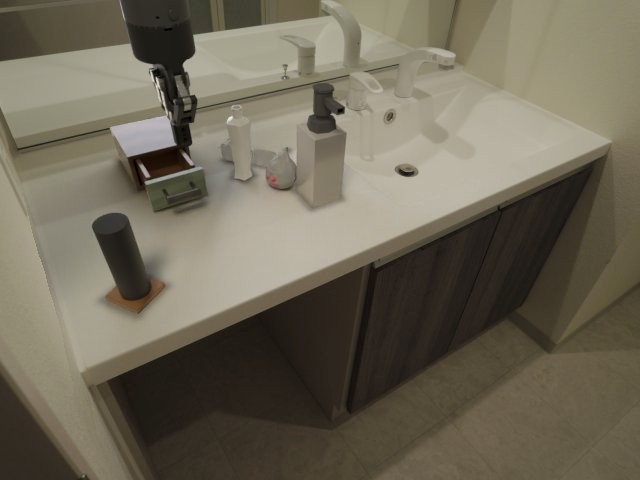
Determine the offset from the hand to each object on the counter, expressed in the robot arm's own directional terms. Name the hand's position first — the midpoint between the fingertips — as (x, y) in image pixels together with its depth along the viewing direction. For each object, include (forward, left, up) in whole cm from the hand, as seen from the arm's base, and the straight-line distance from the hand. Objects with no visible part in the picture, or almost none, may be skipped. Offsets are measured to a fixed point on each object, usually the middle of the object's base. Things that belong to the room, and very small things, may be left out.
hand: (184, 144), depth 61 cm
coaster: (-15, +1, -18) cm, 23 cm away
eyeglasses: (+28, +6, -18) cm, 34 cm away
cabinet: (+14, +22, -18) cm, 32 cm away
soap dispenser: (+20, -14, -18) cm, 30 cm away
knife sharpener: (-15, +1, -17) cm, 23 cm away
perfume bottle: (+20, +4, -18) cm, 27 cm away
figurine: (+20, -5, -18) cm, 28 cm away
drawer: (+8, +12, -17) cm, 22 cm away
